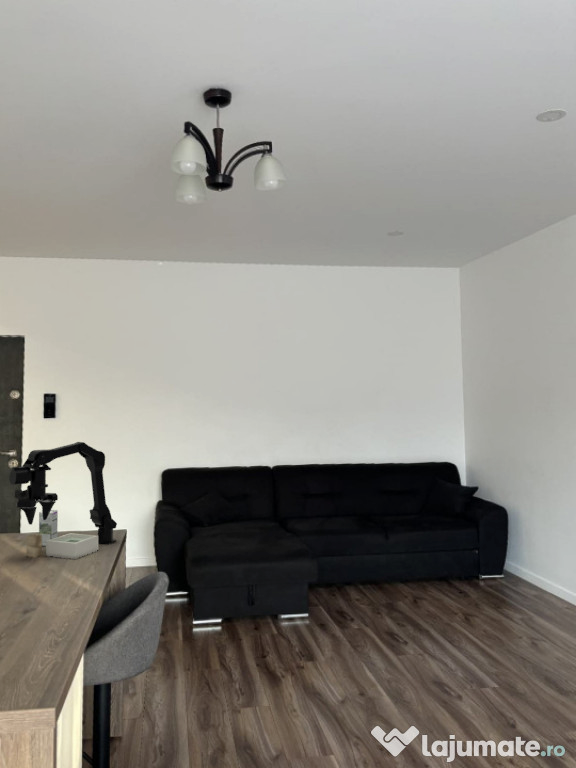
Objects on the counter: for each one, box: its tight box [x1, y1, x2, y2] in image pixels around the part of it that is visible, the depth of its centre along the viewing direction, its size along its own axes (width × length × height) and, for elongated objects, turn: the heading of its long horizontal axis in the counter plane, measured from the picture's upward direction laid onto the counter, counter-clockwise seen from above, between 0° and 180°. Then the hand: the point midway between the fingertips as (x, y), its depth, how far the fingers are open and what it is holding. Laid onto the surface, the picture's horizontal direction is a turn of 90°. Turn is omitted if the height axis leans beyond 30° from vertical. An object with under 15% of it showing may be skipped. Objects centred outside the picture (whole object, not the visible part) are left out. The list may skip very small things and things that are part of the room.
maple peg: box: [26, 533, 43, 558], centre depth 249 cm, size 4×4×8 cm
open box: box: [45, 532, 99, 560], centre depth 252 cm, size 14×14×6 cm
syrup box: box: [38, 509, 59, 547], centre depth 266 cm, size 6×6×14 cm
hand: (37, 522), depth 248 cm, fingers open, 9 cm apart
